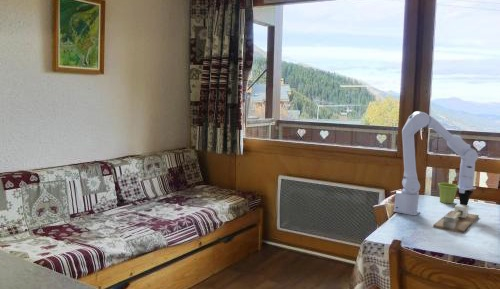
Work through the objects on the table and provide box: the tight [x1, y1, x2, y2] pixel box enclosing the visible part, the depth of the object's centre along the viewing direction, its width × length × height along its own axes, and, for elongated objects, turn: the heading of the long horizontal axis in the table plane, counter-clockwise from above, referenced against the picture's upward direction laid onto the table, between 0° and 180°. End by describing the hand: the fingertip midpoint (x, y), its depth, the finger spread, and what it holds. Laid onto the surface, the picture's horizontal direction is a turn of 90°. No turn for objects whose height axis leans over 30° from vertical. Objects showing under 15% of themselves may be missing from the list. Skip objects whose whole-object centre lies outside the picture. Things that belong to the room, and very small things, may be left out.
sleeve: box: [453, 203, 470, 218], centre depth 196 cm, size 4×5×4 cm
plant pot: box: [437, 182, 459, 205], centre depth 225 cm, size 9×9×9 cm
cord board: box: [432, 210, 479, 234], centre depth 190 cm, size 11×30×5 cm, turn 144°
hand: (463, 207), depth 199 cm, fingers closed
